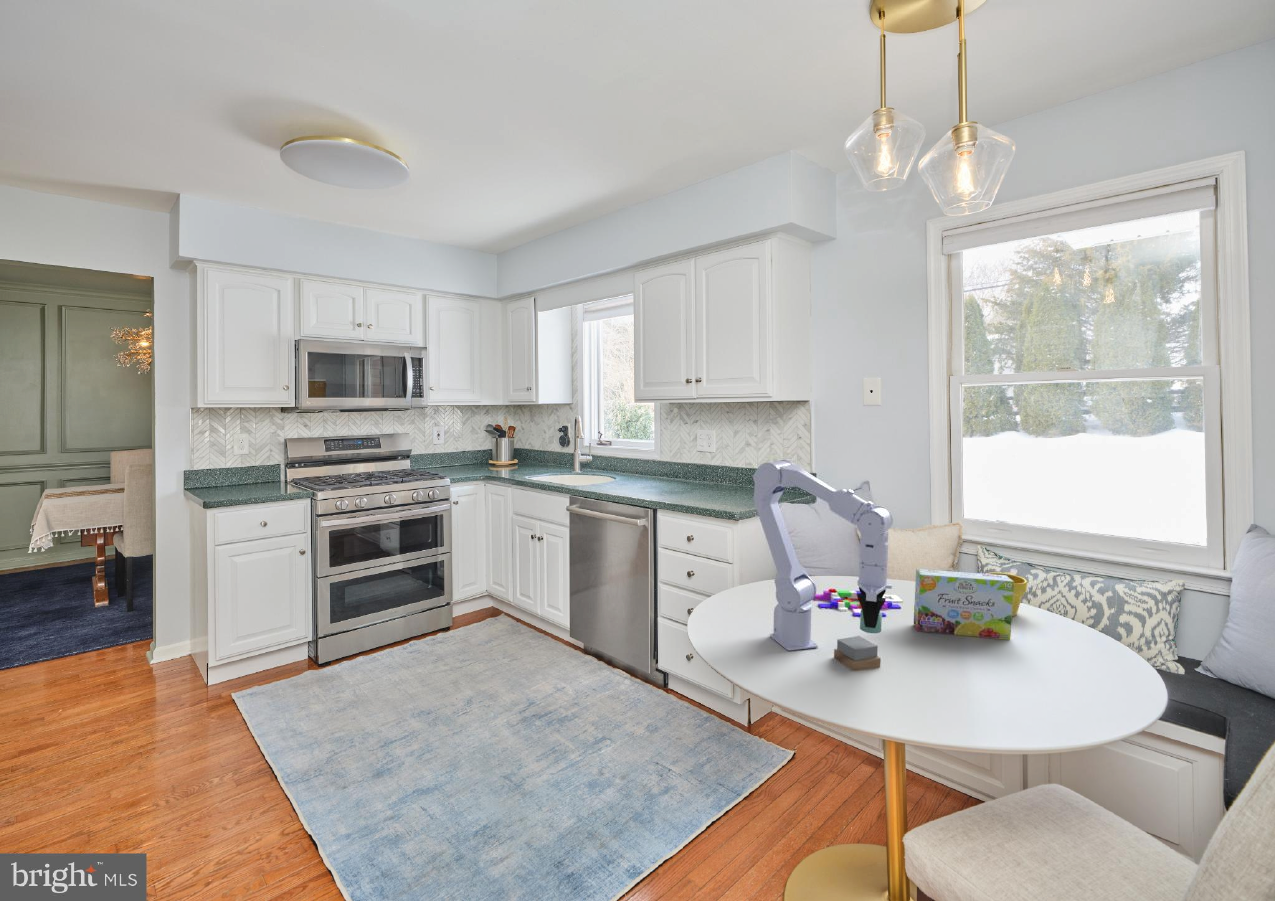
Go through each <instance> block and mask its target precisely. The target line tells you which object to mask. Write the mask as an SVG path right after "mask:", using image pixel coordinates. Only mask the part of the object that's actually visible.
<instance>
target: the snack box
mask: <svg viewBox="0 0 1275 901" xmlns="http://www.w3.org/2000/svg"><path fill="white" fill-rule="evenodd" d="M914 590H915V591H914V606H913V625H914V627H915V629H916V631H917V632H924V633H925V632H926V633H936V634H946V635H956V636H966V637H967V636H968V637H976V638H977V637H978V638H987V639H995V640H996V639H998V640H1006V641H1007V640H1011V637H1012V636H1011V633H1012V620H1013V619H1012V618H1013V616H1012V609H1013V595H1014V581H1013V580H1011V579H1010V578H1009V577H1008V576H1006V575H994V574H986V573H978V572H977V573H976V572H966V571H965V572H963V571H948V570H934V569H922V568H916V570H915V587H914Z"/></svg>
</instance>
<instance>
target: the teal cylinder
mask: <svg viewBox="0 0 1275 901" xmlns="http://www.w3.org/2000/svg"><path fill="white" fill-rule="evenodd" d="M860 609H861V613H860V617H859V629H860V631H862V632H864V633H867V634H880V633H881V632H882V625H883V624H882V620H883V617H882V613H883V612H882V611H881V610H880V613H879V616H878V621H877V625H876V627H875V628H869V627H865V624H864V618H863V611H862V608H860Z"/></svg>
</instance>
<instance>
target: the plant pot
mask: <svg viewBox="0 0 1275 901" xmlns="http://www.w3.org/2000/svg"><path fill="white" fill-rule="evenodd" d="M985 574H994V575H1006V576H1008V577H1009V578H1010V579H1011V580H1013V581H1014V595H1013V609H1012V617H1015V616H1016V615H1018V611H1019V609H1020V605H1021V602H1022V599H1023V596H1024V595H1025V594H1026V593H1027V589H1028V588H1027V587H1028V581H1027V579H1026V578H1024V577H1022V576H1019V575H1016V574H1011V573H1006V572H986V573H985Z"/></svg>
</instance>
